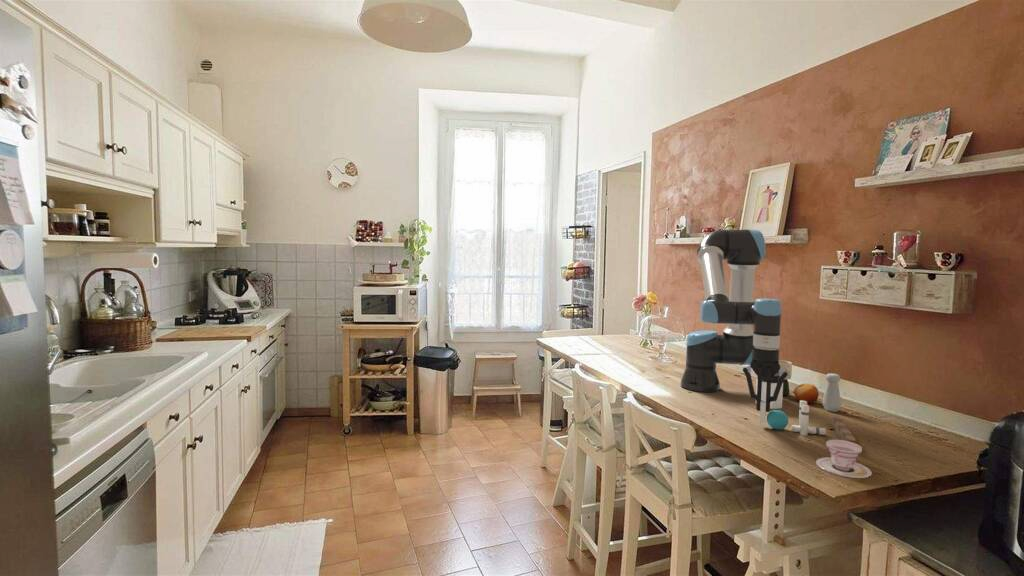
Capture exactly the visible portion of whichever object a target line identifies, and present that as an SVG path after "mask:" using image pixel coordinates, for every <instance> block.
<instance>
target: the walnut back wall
mask: <svg viewBox="0 0 1024 576" xmlns="http://www.w3.org/2000/svg"><path fill="white" fill-rule="evenodd" d="M831 426H832V428H833V429H834V430H835V432H836V434H837V435H838V437H839V440H844V441H849V442H853V443H855V444H858V441H857V439H856V438H855V436H854V434H852V432H851V431H850V429H849V428H848V426H847V425H846V423H845V422H844V420H843V419H842V417H841V416H839V415H831Z"/></svg>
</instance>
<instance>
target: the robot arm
mask: <svg viewBox="0 0 1024 576" xmlns="http://www.w3.org/2000/svg"><path fill="white" fill-rule="evenodd" d="M766 254H767V250H766V240H765V237H764V235H763V233H762V232H761V231H760V230H756V229H717V230H713V231H711V232H710V233H708V234H707V235H705V236H704V237H703V238H702V239H701V241H700V242H699V243H698V246H697V249H696V259H697V262H698V263H699V264H700V267H701V268H700V269H701V275H702V276H701V277H702V282H703V284H702V285H703V291H704V299H705V300H702V301H701V303H700V312H699V313H700V320H701V321H702V322H703V323H709V324H727V326H726V327H725V328H724V329H723V330H722V334H719V333H718V332H717V331H716V330H707V329H706V330H698V331H697V330H696V331H692V332H689V333H688V334H687V336H686V343H685V345H686V355H685V369H684V371H683V374H682V377H681V379H680V386H682V388H683V387H684V388H683V389H685V388H687V389H686V390H688V389H690V390H689V391H693V390H694V391H693V392H699V391H700V393H713V392H718V391H720V389H721V383H720V379H719V376H718V374H717V364H724V365H739V366H743V367H742V372H743V373H744V375H745V377H746V382H747V387H748V390H749V395H750V398H751V399H754V400H755V401H757V404H756V406H755V407H756V411H757V412H759V422H760V423H764V424H765V423H766V416H767V414H766V413H769V412H771V409H770V402H772V401H776V400H777V398H778V395H779V392H780V389H781V386H782V383H783V380H784V379H785V377H786V376H787V375H788V373H787V371H784V370H782V369H781V368H780V365H779V360H780V350H779V348H780V343H781V342H780V341H781V340H780V339H781V322H782V321H781V320H782V312H783V310H782V301H781V300H779V299H777V298H776V299H775V298H763V297H762V298H757V299H755V300H754V286H755V274H756V273H755V272H756V271H755V270H756V268H758V267H759V266H760V261H763V260H765V258H766ZM723 260H727V262H726V264H727V266H728V267H729V268H730V277H729V278H730V279H729V293H728V286H727V282H726V274H725V270H724V266H723V265H724V264H723ZM753 300H754V301H753ZM752 325H753V329H752ZM752 371H753V372H754V373H755V375H756V376H758V383H757V395H756V391H755V387H754V384H753V380H752V376H751V373H752ZM778 371H779V376H780V377H779V379H778V382H777V385H776V388H775V391H774V394H773V396H771V397H770V395H771V377H773V376H774V375H775V374H776V373H777V372H778ZM762 377H766V378H767V386H766V400H761V392H762Z"/></svg>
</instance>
